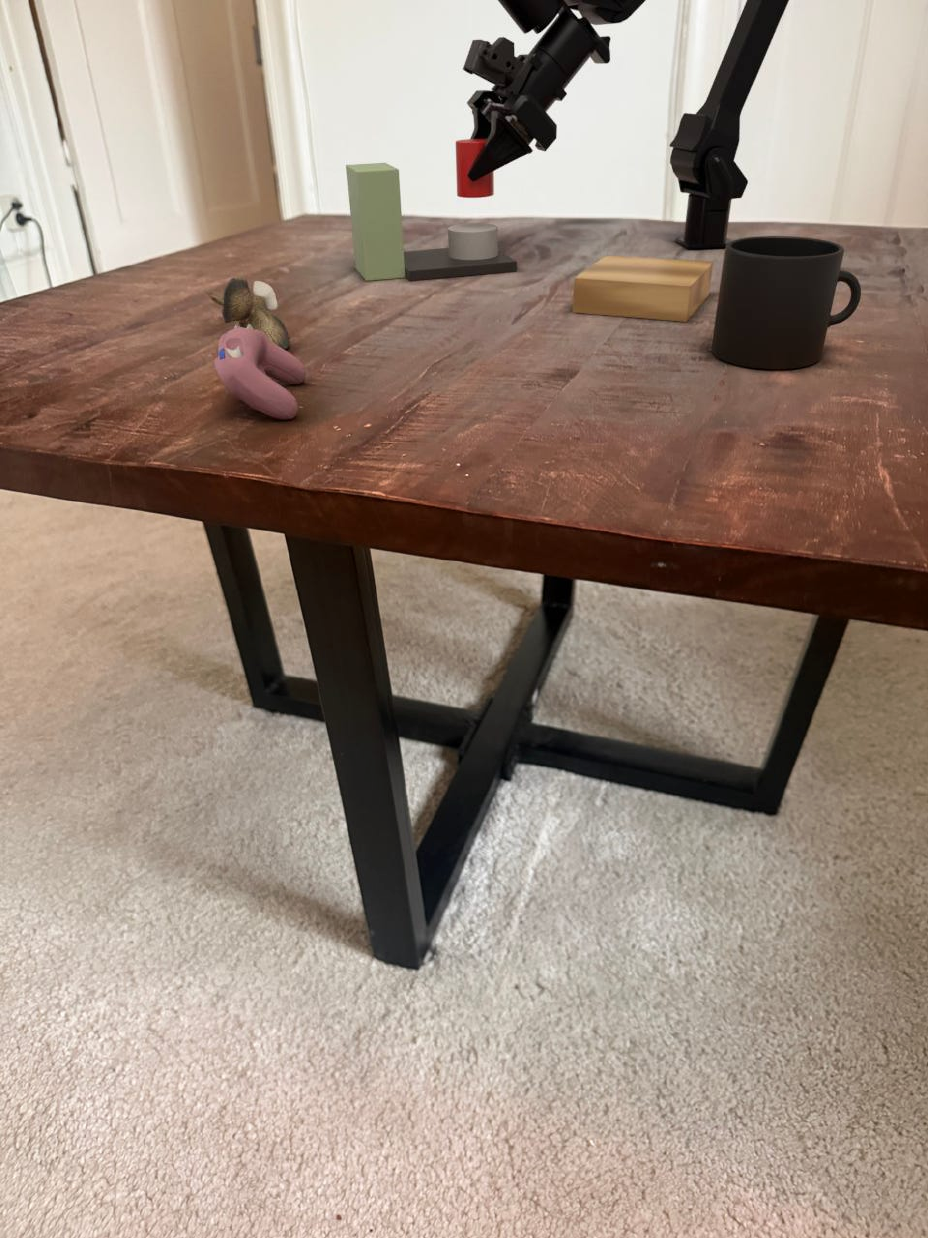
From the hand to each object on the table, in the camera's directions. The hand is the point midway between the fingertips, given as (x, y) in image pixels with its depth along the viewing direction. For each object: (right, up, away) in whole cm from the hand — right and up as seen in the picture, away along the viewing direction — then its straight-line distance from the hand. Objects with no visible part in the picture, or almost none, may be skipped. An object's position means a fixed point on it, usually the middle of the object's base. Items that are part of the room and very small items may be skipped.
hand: (464, 176), depth 104 cm
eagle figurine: (-21, -28, -22) cm, 41 cm away
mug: (+28, -31, -29) cm, 51 cm away
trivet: (+19, -21, -13) cm, 31 cm away
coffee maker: (-4, -9, +5) cm, 11 cm away
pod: (+1, -2, +2) cm, 3 cm away
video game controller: (-16, -37, -36) cm, 54 cm away
